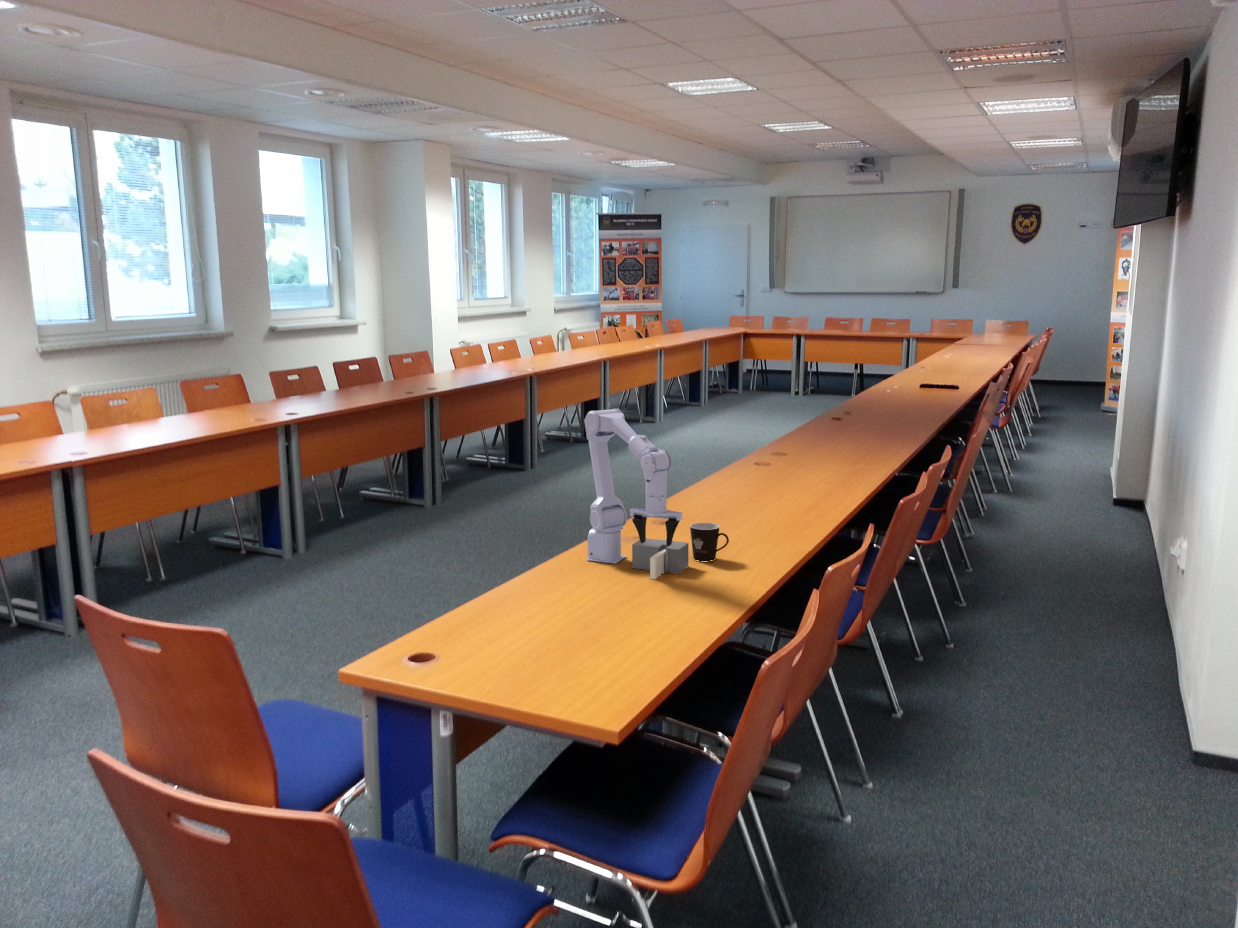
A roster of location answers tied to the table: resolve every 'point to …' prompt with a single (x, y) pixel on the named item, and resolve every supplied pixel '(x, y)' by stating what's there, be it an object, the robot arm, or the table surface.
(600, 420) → the robot arm
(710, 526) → the coffee mug
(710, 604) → the table surface
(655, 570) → the white flat block
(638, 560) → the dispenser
